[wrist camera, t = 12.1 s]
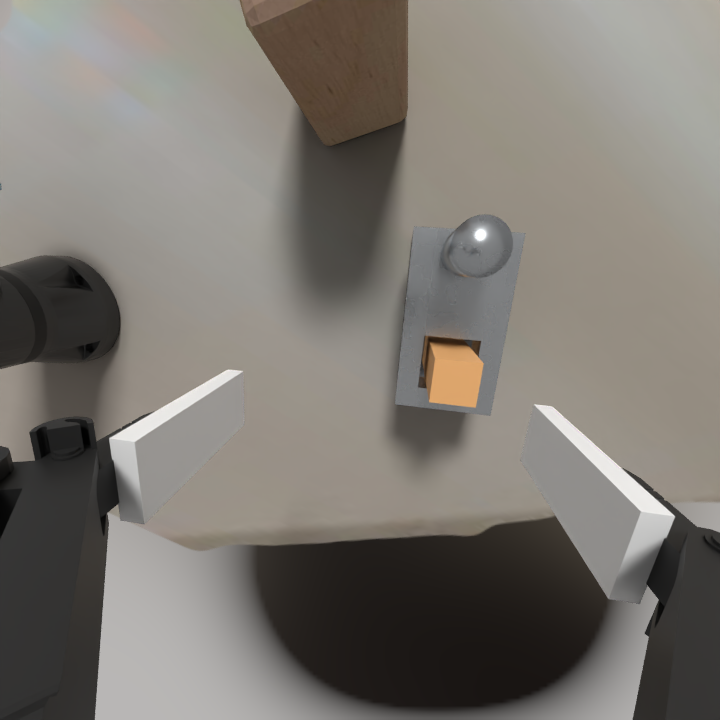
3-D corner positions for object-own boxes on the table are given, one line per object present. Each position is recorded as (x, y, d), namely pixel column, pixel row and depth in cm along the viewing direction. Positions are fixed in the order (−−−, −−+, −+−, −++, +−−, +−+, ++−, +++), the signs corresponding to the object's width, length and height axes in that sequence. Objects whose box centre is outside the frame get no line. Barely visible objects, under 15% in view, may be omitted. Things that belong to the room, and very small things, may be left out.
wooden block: (409, 122, 37) (412, -42, 18) (324, 151, 39) (244, 33, 19) (389, 17, 35) (367, -301, 15) (300, 54, 36) (182, -189, 17)
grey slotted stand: (397, 378, 44) (392, 434, 29) (412, 234, 40) (416, 210, 24) (473, 387, 43) (510, 450, 28) (499, 240, 38) (560, 218, 23)
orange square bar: (422, 361, 42) (429, 402, 29) (426, 330, 41) (435, 358, 28) (453, 364, 42) (475, 407, 29) (458, 333, 41) (483, 363, 28)
